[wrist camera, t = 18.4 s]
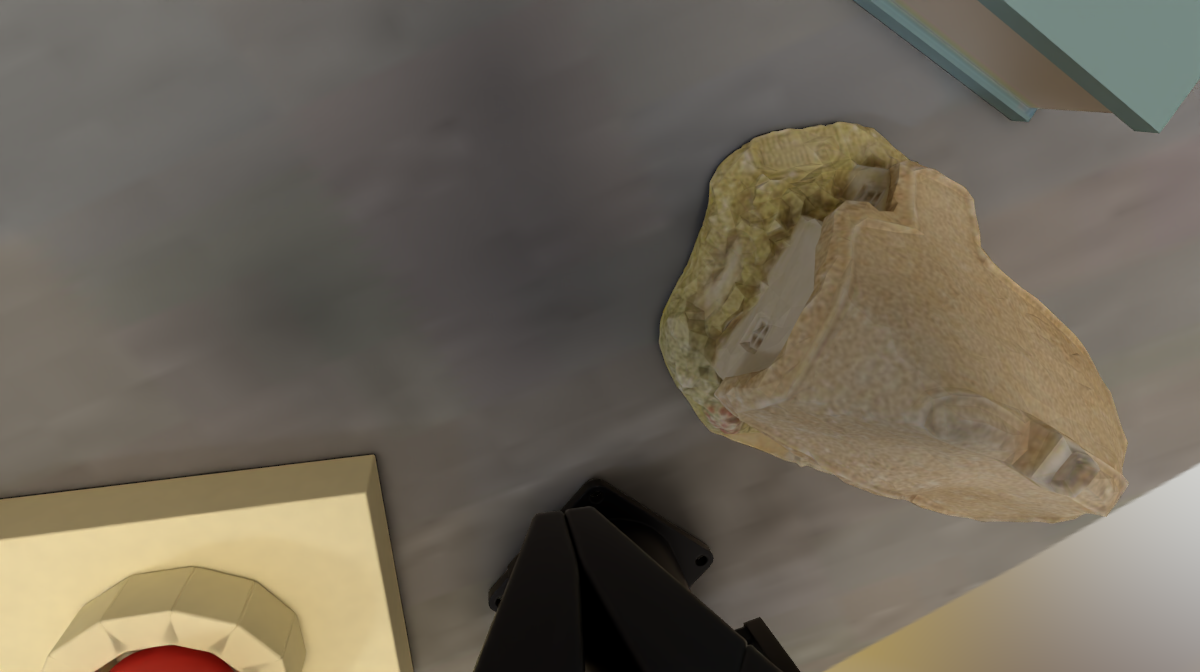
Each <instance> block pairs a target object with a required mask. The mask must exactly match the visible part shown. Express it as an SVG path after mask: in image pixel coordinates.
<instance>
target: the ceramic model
mask: <svg viewBox="0 0 1200 672" xmlns="http://www.w3.org/2000/svg"><path fill="white" fill-rule="evenodd" d="M683 272H684V273H683V274H682V275H681V276H680V278H679V280H678V282H677V284H676V286H675V288H674V290H673V292H672V294H671V296H670V298H669V300H668V302H667V304H666V306H665V308H664V310H663V312H662V313H663V315H662V317H661V321H660V336H659V345H660V349H661V352H662V355H663V358H664V361H665V363H666V366H667V368H668V370H669V372H670V374H671V376H672V378H673V380H674V382H675V384H676V386H677V388H679V389H680V390H681V392H682V393H683V394H684V396H685V397H686V399H687V400H688V402H689V403H690V405H691V406H692V408H693V409H694V411H695V413H696V414H697V416H698V418H699V419H700V420H701V422H702V423H703V424H704V425H705V426H706V427H707V428H708V429H709V431H710V432H713V433H715V434H718V435H719V434H721V435H723V436H725V437H727V438H729V439H731V440H733V441H736V442H739V443H742V444H745V445H748V446H750V447H753V448H756V449H758V450H761V451H764V452H767V453H769V454H772V455H774V456H776V457H779V458H781V459H783V460H785V461H789V462H795V463H797V464H798V465H799V466H800V467H803V466H807V465H808V466H810V467H812V468H814V469H816V470H819V471H822V472H825V473H828V474H835V475H836V476H837V477H838V478H840V479H841V480H842V481H843V482H845V483H847V484H850V485H852V486H855V487H857V488H860V489H863V490H865V491H868V492H871V493H873V494H876V495H880V496H884V497H889V498H894V499H905V500H908V501H910V502H912V503H914V504H915V505H917V506H919V507H921V508H925V509H929V510H932V511H936V512H939V513H943V514H946V515H950V516H957V517H965V518H971V519H974V520H978V521H981V522H992V521H1009V522H1034V521H1039V522H1046V523H1057V522H1062V521H1067V520H1072V519H1076V518H1077V517H1079V516H1080V515H1082V514H1086V513H1090V514H1096V515H1101V516H1105V517H1107V515H1108V514H1109V512H1110V511H1111V510H1112V508H1113V507H1114V506H1115V504H1116V503H1117V501H1118V500H1119V498H1120V497H1121V495H1122V494H1123V492H1124V491H1125V489H1126V487H1127V486H1128V484H1129V483H1128V481H1127V480H1126V479H1125V478H1124V477H1123V474H1122V467H1123V462H1124V458H1125V453H1126V449H1127V444H1128V442H1127V440H1126V437H1125V435H1124V432H1123V430H1122V427H1121V424H1120V420H1119V417H1118V414H1117V411H1116V408H1115V404H1114V401H1113V398H1112V395H1111V392H1110V391H1109V390H1108V388H1107V387H1106V385H1105V384H1104V382H1103V381H1102V379H1101V377H1100V375H1099V373H1098V371H1097V369H1096V367H1095V365H1094V363H1093V361H1092V359H1091V358H1090V356H1089V354H1088V352H1087V351H1086V349H1085V347H1084V346H1083V344H1082V343H1081V342H1080V341H1079V339H1078V338H1077V337H1076V336H1075V335H1074V334H1073V333H1072V332H1071V331H1070V330H1069V329H1068V328H1067V327H1066V326H1065V325H1064V324H1063V323H1062V322H1061V321H1060V320H1059V319H1058V318H1057V317H1056V316H1055V315H1054V314H1053V313H1052V312H1051V311H1050V310H1049V309H1047V308H1046V307H1045V306H1044V305H1043V304H1042V303H1041V302H1040V301H1039V300H1038V299H1037V298H1035V297H1034V296H1033V295H1031V294H1029V293H1028V292H1027V291H1025V290H1024V289H1022V288H1021V287H1020V286H1019V285H1017V284H1016V283H1015V282H1014V281H1013V280H1011V279H1010V278H1009V277H1008V276H1007V275H1005V274H1004V273H1003V272H1002V271H1001V270H1000V269H999V268H998V267H997V266H996V265H995V264H994V263H993V262H992V261H991V259H990V258H989V257H988V255H987V254H986V253H985V251H984V250H983V249H982V248H981V241H980V231H979V226H978V222H977V217H976V213H975V205H974V199H973V198H972V197H971V195H970V194H969V192H968V191H967V190H966V188H965V187H963V186H961V185H960V184H958V183H956V182H954V181H952V180H950V179H949V178H947V177H946V176H944V175H942V174H941V173H939V172H938V171H936V170H935V169H931V168H927V167H924V166H922V165H919V163H918V162H913V161H910V160H909V159H908V158H907V157H906V156H904V155H903V154H902V153H901V152H899V151H898V150H896V149H895V148H894V147H893V146H892V145H891V144H890V143H889V142H888V141H887V140H886V139H885V138H884V137H883V136H881V135H880V134H879V133H878V132H877V131H876V130H875V129H874V128H869V127H863V126H861V125H859V124H851V123H846V122H836V123H835V124H833V125H827V126H823V125H817V126H813V127H808V128H805V129H785V130H781V131H778V132H777V131H772V133H768V134H765V135H762V136H759V137H756V138H753V139H752V140H751V141H750V142H749V143H747V144H745V145H743V146H742V148H740V149H738V150H736V151H735V152H733V153H732V154H731V155H729V156H728V157H727V158H726V159H725V160H724V161H723V162H722V163H721V164H720V165H719V166H718V168H717V170H716V172H715V174H714V175H713V177H712V179H711V181H710V189H709V203H708V208H707V211H706V215H705V219H704V222H703V226H702V227H701V229H700V231H699V235H698V237H697V239H696V242H695V246H694V249H693V252H692V253H691V257H690V259H689V261H688V264H687V266H686V267H685V268H684V270H683Z"/></svg>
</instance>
